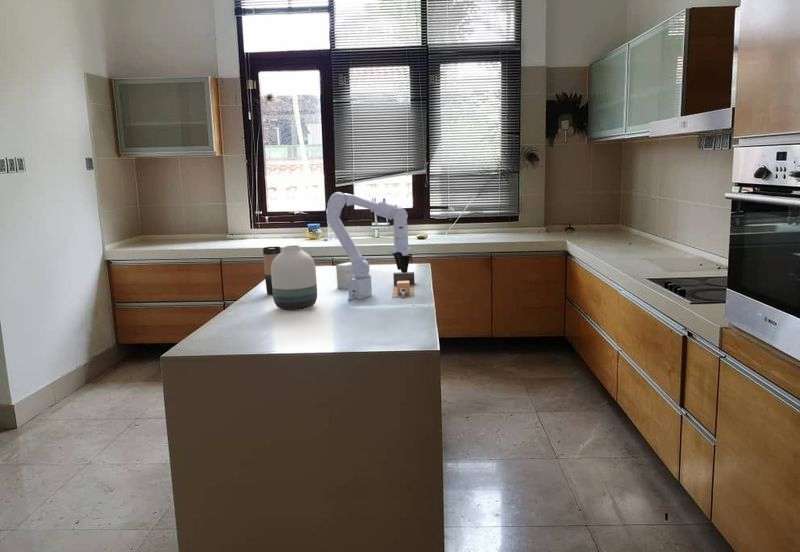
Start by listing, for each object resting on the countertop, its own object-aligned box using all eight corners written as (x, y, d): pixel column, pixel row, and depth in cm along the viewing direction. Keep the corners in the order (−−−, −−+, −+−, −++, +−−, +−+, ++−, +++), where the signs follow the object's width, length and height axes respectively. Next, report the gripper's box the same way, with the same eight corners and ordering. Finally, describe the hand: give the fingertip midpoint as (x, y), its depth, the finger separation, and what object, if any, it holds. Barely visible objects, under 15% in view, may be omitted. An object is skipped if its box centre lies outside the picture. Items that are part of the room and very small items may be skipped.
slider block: (409, 294, 259) (409, 283, 258) (397, 294, 259) (396, 283, 258) (409, 291, 264) (409, 280, 263) (397, 291, 264) (397, 281, 263)
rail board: (414, 300, 252) (414, 285, 251) (391, 301, 252) (391, 286, 251) (414, 285, 283) (414, 271, 282) (394, 285, 283) (393, 272, 282)
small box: (349, 284, 291) (348, 262, 289) (358, 286, 287) (357, 262, 285) (337, 288, 285) (335, 264, 283) (346, 289, 281) (344, 265, 279)
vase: (269, 306, 253) (264, 246, 249) (311, 301, 259) (307, 242, 255) (279, 315, 237) (274, 250, 233) (323, 309, 244) (319, 246, 240)
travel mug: (287, 292, 280) (284, 247, 276) (273, 295, 274) (269, 249, 271) (277, 290, 285) (273, 246, 281) (262, 293, 279) (259, 248, 276)
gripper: (414, 238, 251) (416, 273, 253) (406, 235, 265) (408, 267, 267) (397, 240, 249) (398, 274, 252) (389, 236, 263) (391, 268, 266)
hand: (402, 271), depth 259 cm, fingers open, 7 cm apart
